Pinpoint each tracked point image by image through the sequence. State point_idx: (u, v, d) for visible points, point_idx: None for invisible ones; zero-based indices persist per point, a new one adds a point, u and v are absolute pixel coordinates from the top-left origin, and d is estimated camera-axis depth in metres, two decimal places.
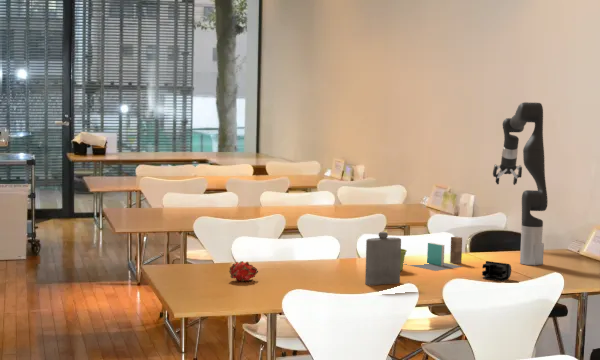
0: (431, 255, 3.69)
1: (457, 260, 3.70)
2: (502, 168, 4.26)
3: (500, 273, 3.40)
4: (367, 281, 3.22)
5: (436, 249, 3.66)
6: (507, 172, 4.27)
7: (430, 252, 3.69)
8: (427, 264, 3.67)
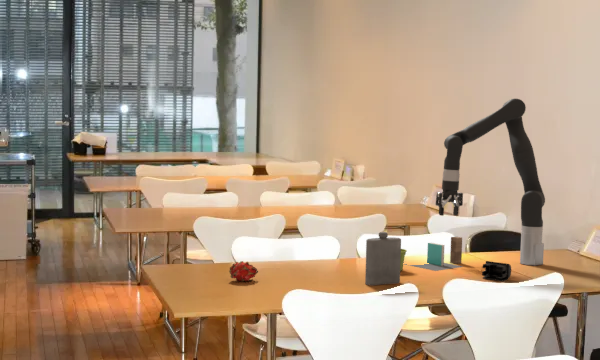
0: (431, 255, 3.69)
1: (457, 260, 3.70)
2: (446, 195, 3.75)
3: (500, 273, 3.40)
4: (367, 281, 3.22)
5: (436, 249, 3.66)
6: (450, 200, 3.76)
7: (430, 252, 3.69)
8: (427, 264, 3.67)
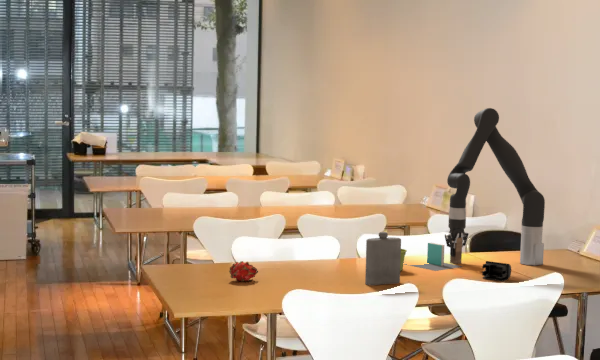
0: (431, 255, 3.69)
1: (457, 260, 3.70)
2: (454, 235, 3.69)
3: (500, 273, 3.40)
4: (367, 281, 3.22)
5: (436, 249, 3.66)
6: None
7: (430, 252, 3.69)
8: (427, 264, 3.67)
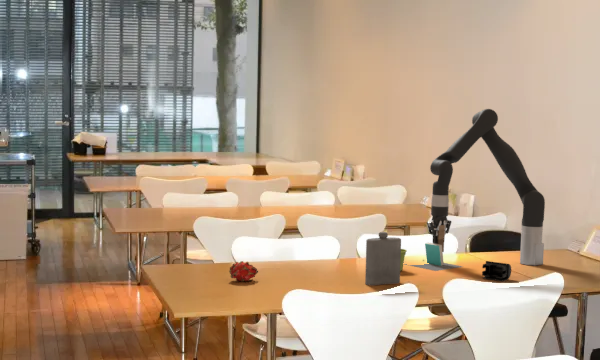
0: (430, 255, 3.68)
1: None
2: (436, 222, 3.66)
3: (500, 273, 3.40)
4: (367, 281, 3.22)
5: (434, 250, 3.65)
6: (440, 225, 3.67)
7: (428, 252, 3.69)
8: (427, 264, 3.67)
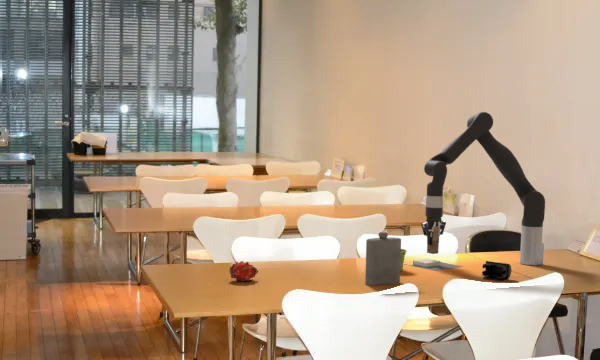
0: None
1: (434, 249, 3.65)
2: (430, 224, 3.63)
3: (500, 273, 3.40)
4: (367, 281, 3.22)
5: None
6: None
7: None
8: None
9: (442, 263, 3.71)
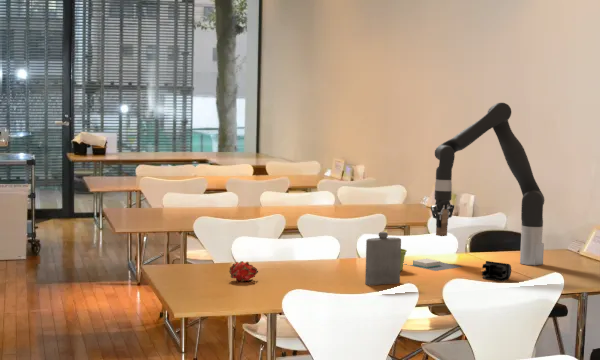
0: None
1: (443, 232, 3.75)
2: (439, 207, 3.73)
3: (500, 273, 3.40)
4: (367, 281, 3.22)
5: None
6: None
7: None
8: None
9: (442, 263, 3.71)
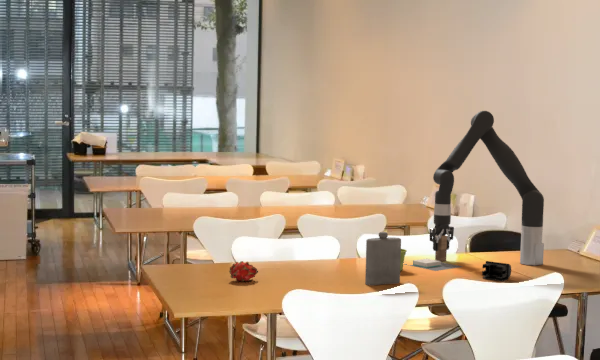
0: None
1: (442, 258, 3.76)
2: (439, 230, 3.74)
3: (500, 273, 3.40)
4: (367, 281, 3.22)
5: None
6: (443, 234, 3.76)
7: None
8: None
9: (442, 263, 3.71)
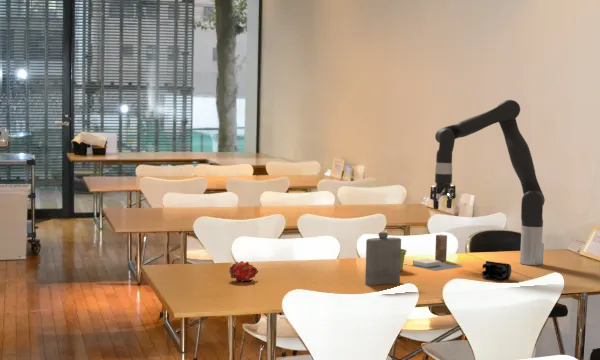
0: None
1: (442, 258, 3.76)
2: (440, 188, 3.73)
3: (500, 273, 3.40)
4: (367, 281, 3.22)
5: None
6: (444, 193, 3.74)
7: None
8: None
9: (442, 263, 3.71)
